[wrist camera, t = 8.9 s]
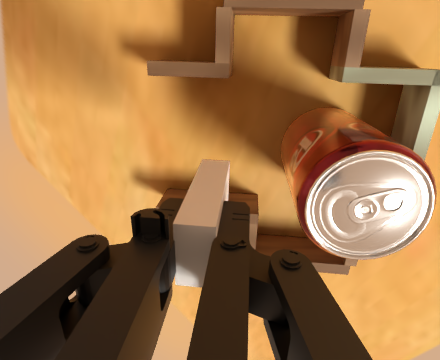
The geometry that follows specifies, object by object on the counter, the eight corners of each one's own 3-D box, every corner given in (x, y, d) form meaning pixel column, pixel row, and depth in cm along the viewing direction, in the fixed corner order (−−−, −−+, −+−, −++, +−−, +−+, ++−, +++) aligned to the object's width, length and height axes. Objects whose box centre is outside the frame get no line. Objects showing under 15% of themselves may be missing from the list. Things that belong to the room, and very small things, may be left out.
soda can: (289, 191, 29) (311, 275, 18) (271, 119, 26) (285, 164, 15) (368, 173, 28) (445, 252, 16) (357, 95, 25) (440, 126, 14)
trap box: (159, -1, 24) (142, -12, 20) (438, 3, 22) (475, -8, 18) (169, 235, 32) (159, 258, 29) (372, 251, 31) (388, 278, 27)
